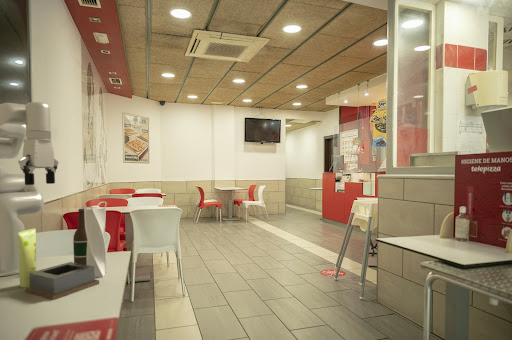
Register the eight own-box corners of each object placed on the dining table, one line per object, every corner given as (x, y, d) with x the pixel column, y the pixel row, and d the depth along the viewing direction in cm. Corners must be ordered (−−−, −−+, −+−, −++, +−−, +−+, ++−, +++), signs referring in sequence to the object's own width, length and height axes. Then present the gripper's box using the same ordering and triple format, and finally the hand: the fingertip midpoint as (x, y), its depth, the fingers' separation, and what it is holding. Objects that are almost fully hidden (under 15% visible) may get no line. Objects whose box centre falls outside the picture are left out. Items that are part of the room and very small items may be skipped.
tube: (37, 286, 116) (35, 230, 115) (19, 289, 113) (17, 232, 113) (37, 281, 120) (35, 228, 120) (19, 284, 117) (18, 229, 117)
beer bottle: (75, 264, 142) (73, 208, 141) (95, 262, 145) (93, 207, 144) (73, 269, 134) (71, 210, 134) (94, 266, 138) (92, 209, 137)
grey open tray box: (24, 292, 110) (24, 273, 110) (71, 277, 124) (71, 260, 124) (53, 300, 102) (52, 280, 102) (99, 283, 117) (98, 266, 116)
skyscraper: (110, 271, 131) (108, 200, 130) (106, 277, 123) (104, 202, 123) (88, 273, 129) (86, 201, 128) (83, 279, 121) (81, 203, 121)
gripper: (47, 139, 130) (49, 183, 130) (8, 135, 112) (10, 185, 112) (65, 138, 129) (66, 182, 129) (28, 134, 111) (30, 185, 111)
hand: (40, 184), depth 121 cm, fingers open, 9 cm apart
